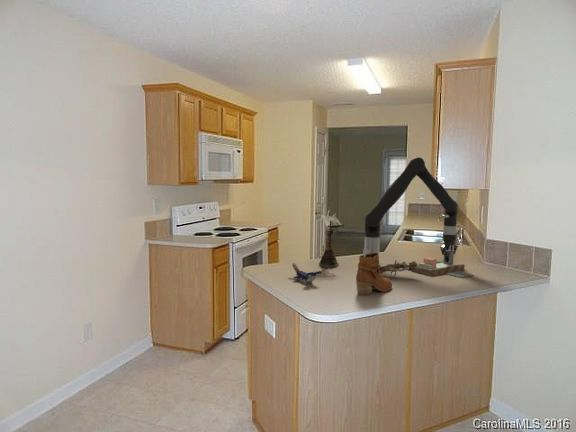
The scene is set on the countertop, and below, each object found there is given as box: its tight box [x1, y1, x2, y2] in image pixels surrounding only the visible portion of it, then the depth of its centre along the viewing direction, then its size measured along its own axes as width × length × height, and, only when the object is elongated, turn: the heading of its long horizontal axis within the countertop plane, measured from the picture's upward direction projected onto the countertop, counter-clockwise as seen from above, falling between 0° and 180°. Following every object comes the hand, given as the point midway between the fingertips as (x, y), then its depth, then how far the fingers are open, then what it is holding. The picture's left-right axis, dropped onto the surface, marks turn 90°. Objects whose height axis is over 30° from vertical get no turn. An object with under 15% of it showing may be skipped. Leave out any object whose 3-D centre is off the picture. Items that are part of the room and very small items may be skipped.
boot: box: [355, 253, 393, 296], centre depth 193 cm, size 24×9×19 cm, turn 123°
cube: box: [423, 257, 437, 268], centre depth 234 cm, size 5×5×5 cm
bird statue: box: [318, 209, 345, 269], centre depth 245 cm, size 17×13×35 cm
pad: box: [446, 271, 474, 279], centre depth 226 cm, size 10×10×1 cm
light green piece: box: [418, 250, 455, 269], centre depth 237 cm, size 22×9×9 cm, turn 121°
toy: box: [291, 262, 322, 284], centre depth 212 cm, size 10×23×10 cm, turn 27°
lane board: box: [410, 260, 466, 277], centre depth 238 cm, size 30×14×3 cm, turn 121°
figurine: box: [379, 259, 418, 279], centre depth 222 cm, size 10×10×28 cm
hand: (448, 261), depth 242 cm, fingers closed on light green piece, 2 cm apart
